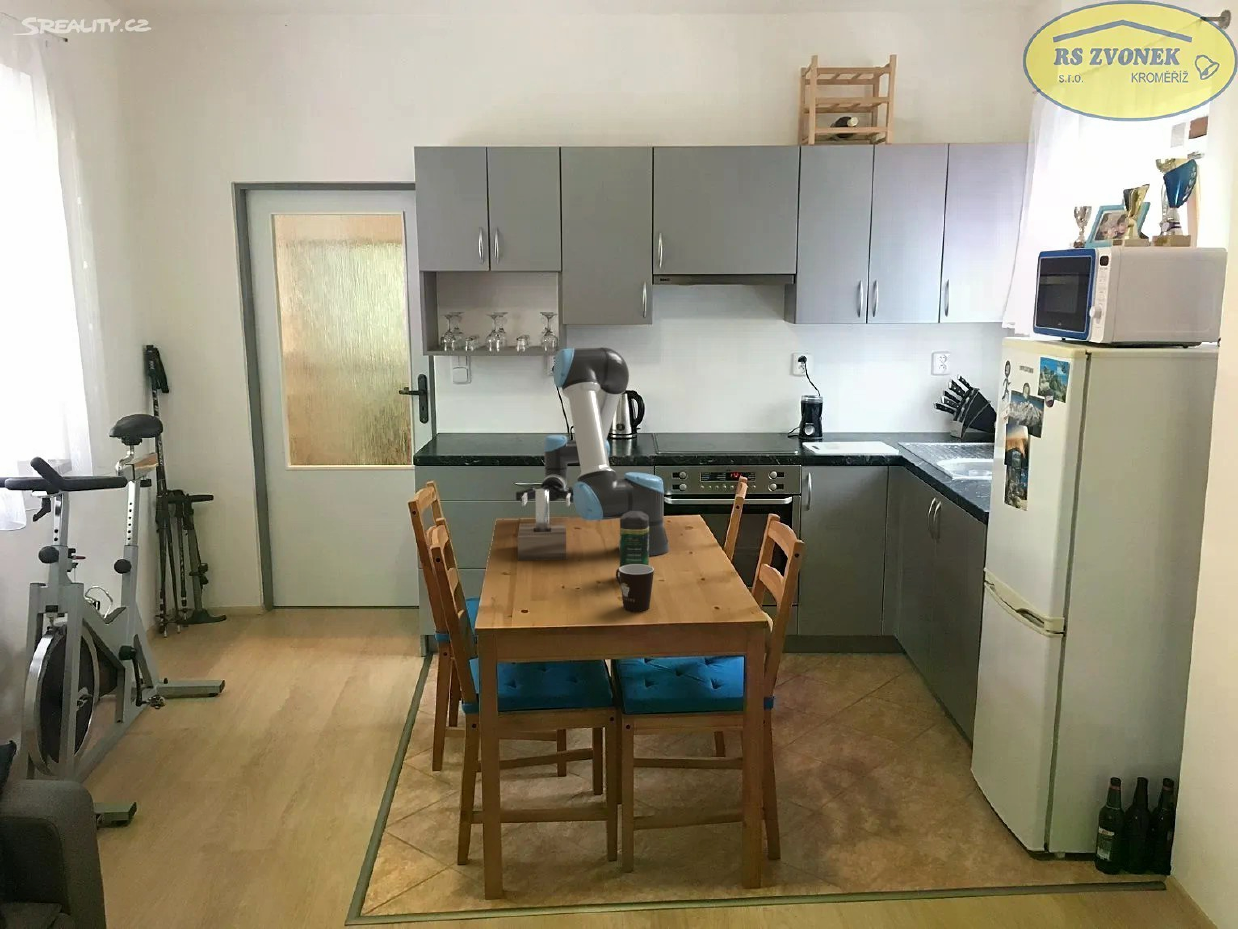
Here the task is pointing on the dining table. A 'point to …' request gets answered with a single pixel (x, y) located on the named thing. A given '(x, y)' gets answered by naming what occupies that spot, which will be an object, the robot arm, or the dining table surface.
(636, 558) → the coffee jar
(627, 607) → the coffee mug
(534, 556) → the socket block
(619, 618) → the dining table surface
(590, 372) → the robot arm
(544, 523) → the steel pin
